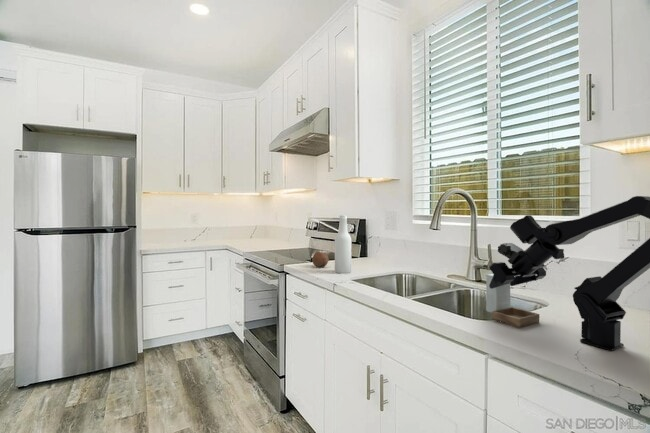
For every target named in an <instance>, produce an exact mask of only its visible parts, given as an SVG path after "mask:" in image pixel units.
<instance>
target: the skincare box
mask: <svg viewBox="0 0 650 433" xmlns="http://www.w3.org/2000/svg"><path fill="white" fill-rule="evenodd" d="M493 275H494V274H493V273H490V274H489V273H488V274H487V273H486V275H485V276H486V277H485V279H486V283H485V286H486V288H485V290H486V292H485V293H486V294H485V295H486V297H485V298H486V299H485V300H486V307H485V310H486V312H488V313H490V314H492V311H496V310H501V309H505V308H510V307H511V285H510V283H509V284H506V285H503V286H500V287H496V288H493V289H491V288H490V287H489V285H490V282H491V280H492V278H493Z"/></svg>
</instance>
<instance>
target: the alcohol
mask: <svg viewBox="0 0 650 433" xmlns="http://www.w3.org/2000/svg"><path fill="white" fill-rule="evenodd" d="M347 217H348V216H347V215H346V214H345V215H343V214H340V215H339V223H338V224H339V225H338V232H337V233H336V235H335V237H334V272H335V273H337V274H340V273H347V274H351V272H352V236H351V235H350V233H349V230H348V220H347V219H348V218H347Z"/></svg>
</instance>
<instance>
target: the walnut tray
mask: <svg viewBox="0 0 650 433" xmlns="http://www.w3.org/2000/svg"><path fill="white" fill-rule="evenodd" d="M491 320H492V321H495V322H498V323H501V322H502V323H501V324H504V325H507V324H508V325H507V326H510V325H511V327H514V328H517V329H521V328H526V327H530V326H533V325H535V324H540V314H539V313H536V312H532V311H529V310H525V309H521V308H517V307H514V306H510V308H505V309H501V310H496V311H492V313H491ZM500 321H501V322H500Z"/></svg>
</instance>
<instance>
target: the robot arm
mask: <svg viewBox="0 0 650 433" xmlns="http://www.w3.org/2000/svg"><path fill="white" fill-rule="evenodd" d="M640 216H641V217H644V218H645V219H649V220H650V196H648V195H647V196H644V195H643V196H642V195H635V196H632V197H630V198H629V199H627V200H624V201H622V202H619V203H616V204H615V205H611V206H609V207H605V208H604V209H601V210H598V211H595V212H592V213H590V214H588V215H585V216H582V217H580V218H577V219H569V220H566V221H565V220H564V221H558V222H554V223H550V224H548V225H546V226H545V227H542V226H541V225H540V224H539V223H538V222H537V221H536V220H535V217H533V216H532V215H530V214H529V215H527V214H526V215H525V216H524V217H522V218H520V219H517V220H516V221H514V222H512V224H511V225H510V226H509V228H510V230H511V232H512V233H514V235H515V236H516V237H517V239H519V241H520V242H521V243H522V244H527V245H530V246H529V247H527V248H526V249H525V250H524V249H522V248H521V247H520V246H518V245H516V244H515V243H513V242H503V243H500V245H498V246H497V252H498V253H499V254H501V255H502V256H504V257H506V258H507V259H508V260H507V262H508V263H509V264H510V265H511V267H509V266H508V264H507V263H506V262H504V261H499V262H498V261H497V262H492V264H490V265H489V266H488V267H489V270H490V271H491V274H494V275H493V278H492V280H491V282H490V285H489V287H490V288H491V289H493V288H496V287H500V286H503V285H506V284H509V283H510V287H515V286H517V285H521V284H522V285H523V284H525V283H526V284H527V283H531V282H534V281H538V280H543V278H545V277H546V276H547V271H546V269H545V266H546V265H545V263H547V261H549V260H551V259H552V258H553V259H554V260H562V259H563V260H564V259H565V254H564V252H565V250H564V248H559V247H558V246H562V245H564V246H565V245H573V244H575V243H577V242H578V241H580V240H583V239H584V238H585V237H587V236H588V235H589V234H591V233H593V232H595V231H598V230H601V229H605V228H608V227H610V226H613V225H614V226H615V225H617V224H619V223H622V222H625V221H628V220H631V219H634V218H637V217H640ZM649 269H650V237H649V238H648V239H646V240H645V241H644V242H643V243H642V244H640V246H639V247H637V248H636V249H634V251H632V252H631V253H630V254H628V255H627V257H625V258H624V259H623V260H621V261H620V262H619V263H618V264H616V266H614V267H613V268H612V269H611V270H610V271H608V272H607V273H606V274H605V275H603V277H602V276H600V275H599V276H593V277H592V276H591V277H586V278H585V279H584V280H583V281H582V283H581V284H580V285H578V286H575V287H574V288H573V289H574V290H575V291H574V292H573V294H572V298H573V303H574V306H576V307H577V310H578V313H579V315H580V318H581V319H583V321H581V330H580V331H581V334H580V335H581V338H580V339H579V341H580V343H584V344H586V345H591V346H594V347H596V348H600V349H604V350H607V351H616V350H617V349H618V350H619V349H620V348H622V347H624V345H625V344H624V343H622V342H621V328H622V327H621V324H622V323H621V322H622V320H623V319H624V317H625V316H626V314H627V312H626V311H625V309H624V308H623V307H622V306H621V305H620V304H619V303H618V302H617V301H618V299H619V298H620V296H621V295H622V291H624V289H625V288H626V287H627V286H628V285H630V284H631V283H633V282H634V281H635V280H636V279H638V278H639V277H640V276H641V275H643V274H644V273H645V272H647V271H648V270H649Z"/></svg>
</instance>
